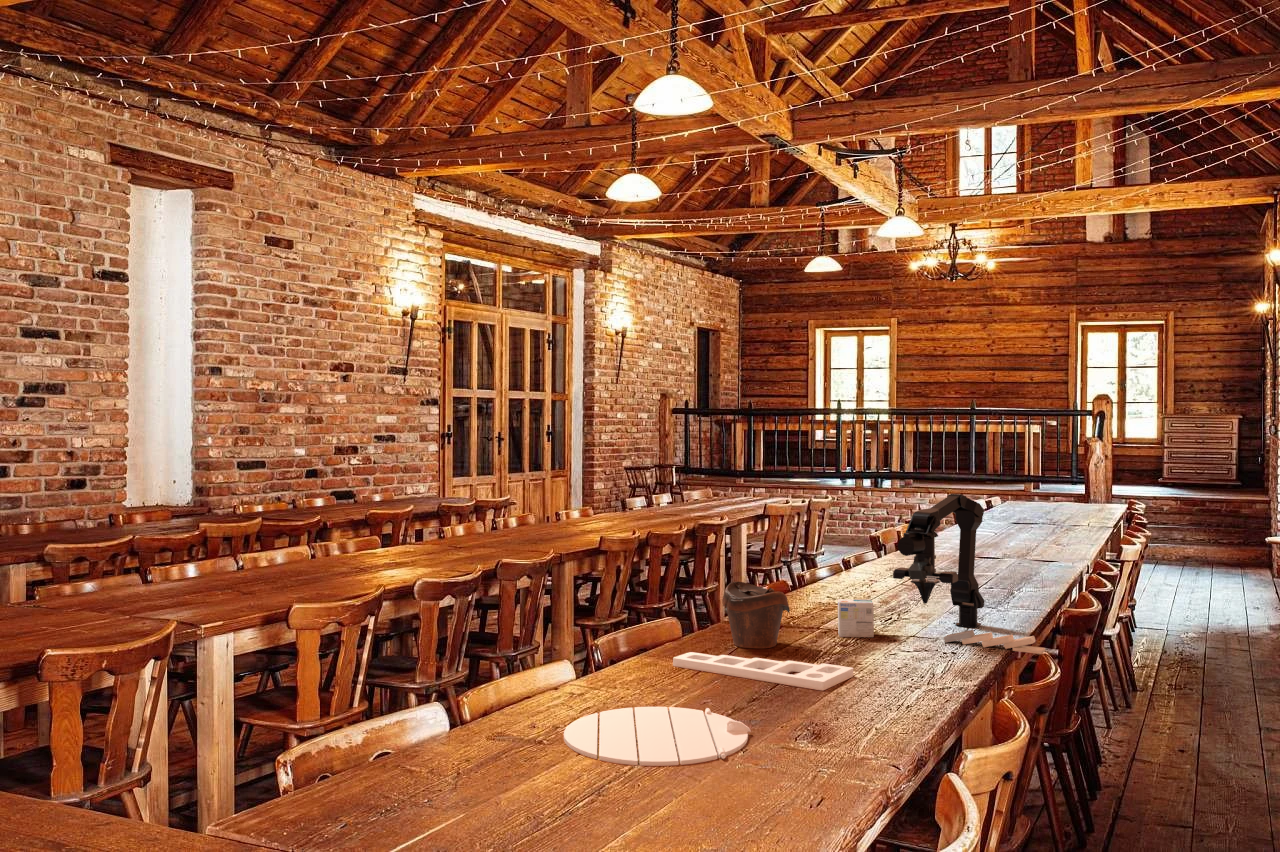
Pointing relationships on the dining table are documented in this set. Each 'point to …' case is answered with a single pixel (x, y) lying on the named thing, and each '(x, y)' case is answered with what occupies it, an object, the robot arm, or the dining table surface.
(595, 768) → the dining table surface
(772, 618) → the rusty bucket
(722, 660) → the holder
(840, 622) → the light bulb box
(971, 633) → the domino
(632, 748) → the white grooved round board
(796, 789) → the dining table surface
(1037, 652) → the domino
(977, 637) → the domino
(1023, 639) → the domino
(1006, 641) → the domino
